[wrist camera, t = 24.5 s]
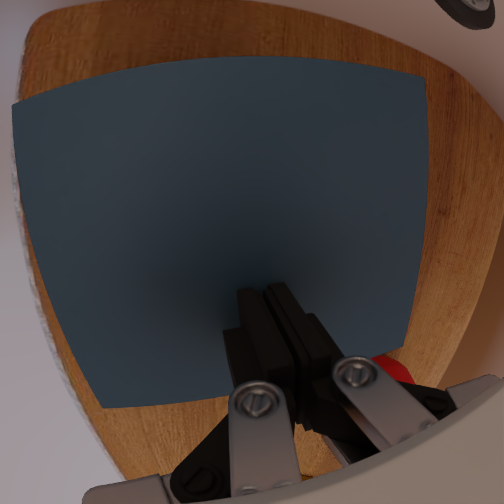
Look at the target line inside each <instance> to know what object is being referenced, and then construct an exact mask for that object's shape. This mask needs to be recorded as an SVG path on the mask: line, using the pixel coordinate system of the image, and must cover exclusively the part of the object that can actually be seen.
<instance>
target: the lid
mask: <svg viewBox="0 0 504 504" xmlns="http://www.w3.org/2000/svg"><path fill="white" fill-rule="evenodd" d="M12 124H13V138H14V149H15V158H16V166H17V174H18V180H19V186H20V192H21V198H22V203H23V208H24V212H25V217H26V221H27V226H28V230H29V234H30V238H31V242H32V245H33V249H34V253H35V256H36V259H37V263H38V266H39V269H40V272H41V275H42V278H43V281H44V284H45V287H46V290H47V293H48V296H49V298H50V301H51V304H52V306H53V309H54V311H55V314H56V316H57V319H58V321H59V324H60V326H61V328H62V331H63V333H64V335H65V338H66V340H67V342H68V344H69V346H70V348H71V351H72V353H73V355H74V357H75V359H76V361H77V363H78V365H79V367H80V369H81V371H82V373H83V375H84V376H85V378H86V380H87V382H88V384H89V386H90V388H91V389H92V391H93V393H94V395H95V396H96V398H97V400H98V401H99V403H100V405H101V406H102V408H125V407H140V406H153V405H163V404H172V403H181V402H189V401H196V400H203V399H210V398H216V397H222V396H228V395H230V394H231V393H232V391H233V390H234V386H233V382H232V378H231V374H230V370H229V366H228V361H227V356H226V351H225V345H224V339H223V332H222V330H226V329H232V328H237V327H240V319H239V310H238V301H237V290H240V289H246V288H253V289H254V291H260V293H261V295H262V297H263V290H264V289H268V285H270V284H275V283H281V282H284V283H285V284H286V285H287V287H288V288H289V290H290V291H291V293H292V294H293V296H294V297H295V299H296V300H297V302H298V303H299V305H300V306H301V308H302V309H303V310H304V312H305V313H306V314H308V313H314V314H315V315H316V316H317V318H318V319H319V321H320V322H321V323H322V325H323V326H324V328H325V329H326V330H327V332H328V333H329V335H330V336H331V337H332V339H333V340H334V342H335V343H336V344H337V346H338V347H339V349H340V350H341V351H342V353H343V354H344V356H345V357H347V356H353V355H359V356H365V357H368V358H373V357H375V356H378V355H381V354H384V353H386V352H389V351H392V350H394V349H397V348H400V347H402V346H403V344H404V340H405V336H406V332H407V328H408V324H409V320H410V315H411V311H412V306H413V301H414V296H415V291H416V285H417V280H418V274H419V268H420V261H421V254H422V247H423V238H424V229H425V219H426V207H427V192H428V161H429V144H428V115H427V100H426V88H425V79H424V77H420V76H416V75H412V74H408V73H404V72H399V71H395V70H390V69H385V68H380V67H375V66H369V65H363V64H357V63H350V62H343V61H334V60H325V59H315V58H302V57H282V56H234V57H214V58H201V59H190V60H181V61H173V62H166V63H159V64H152V65H146V66H141V67H135V68H130V69H125V70H120V71H116V72H111V73H107V74H103V75H99V76H95V77H91V78H88V79H84V80H80V81H77V82H74V83H70V84H67V85H64V86H61V87H58V88H55V89H52V90H49V91H46V92H43V93H41V94H38V95H35V96H33V97H30V98H27V99H25V100H22V101H20V102H18V103H15V104H13V105H12Z"/></svg>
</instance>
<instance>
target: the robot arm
mask: <svg viewBox="0 0 504 504" xmlns="http://www.w3.org/2000/svg"><path fill="white" fill-rule="evenodd" d="M461 1H462V2H463V3H464V4H466V5H467V6H468V7H470V8H471V9H474V10H476V11H483V10H486V9H488V7H489V3H490V0H461ZM237 301H238V310H239V319H240V327H237V328H232V329H226V330H222V332H223V339H224V345H225V351H226V356H227V361H228V366H229V370H230V374H231V378H232V382H233V386H234V390H233V391H232V393H231V394H230V396H229V401H228V414H227V415H226V416H225V417H224V418H223V419H222V420H221V422H220V423H219V424H218V425H217V426H216V427H215V428H214V429H213V430H212V431H211V432H210V433H209V434H208V436H207V437H206V438H205V439H204V440H203V441H202V442H201V443H200V444H199V445H198V446H197V447H196V448H195V449H194V450H193V451H192V452H191V453H190V454H189V455H188V456H187V457H186V458H185V459H184V460H183V461H182V462H181V463H180V464H179V465H178V466H177V467H176V468H175V470H174V471H173V472H172V473H169V474H166V475H162V476H160V475H159V474H154V475H150V476H146V477H142V478H137V479H133V480H128V481H123V482H118V483H113V484H107V485H101V486H96V487H93V488H90V489H89V490H88V491H87V492H86V493H85V494H84V496H83V499H82V504H504V377H503V378H502V379H500V378H498V377H496V376H495V375H490V374H489V375H484V376H481V377H478V378H475V379H473V380H469V381H466V382H463V383H460V384H457V385H454V386H451V387H447V388H446V389H445V391H442V390H439V389H436V388H431V387H426V386H421V385H416V384H411V383H407V382H402V381H398V380H395V379H394V378H393V377H392V376H391V375H389V374H388V373H387V372H386V371H385V370H384V369H383V368H382V367H381V366H380V365H379V364H378V363H376V362H375V361H374V360H372V359H370V358H368V357H365V356H359V355H353V356H347V357H345V356H344V354H343V353H342V351H341V350H340V349H339V347H338V346H337V344H336V343H335V342H334V340H333V339H332V337H331V336H330V335H329V333H328V332H327V330H326V329H325V328H324V326H323V325H322V323H321V322H320V321H319V319H318V318H317V316H316V315H315V314H314V313H308V314H306V313H305V312H304V310H303V309H302V308H301V306H300V305H299V303H298V302H297V300H296V299H295V297H294V296H293V294H292V293H291V291H290V290H289V288H288V287H287V285H286V284H285V283H284V282H281V283H275V284H270V285H268V289H264V290H263V297H262V295H261V293H260V291H254V289H253V288H246V289H240V290H237ZM295 422H296V424H301V423H302V425H303V427H304V429H305V431H308V430H311V429H313V431H314V432H316V433H319V434H321V435H322V439H323V441H324V442H325V444H326V445H327V446H328V448H329V449H330V451H331V452H332V453H333V455H334V456H335V457H336V459H337V460H338V461H339V463H340V464H341V465H342V467H343V468H341V469H338V470H335V471H332V472H329V473H327V474H324V475H321V476H318V477H314V478H311V479H308V480H305V481H302V478H301V473H300V468H299V463H298V458H297V453H296V448H295V443H294V428H295Z"/></svg>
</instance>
